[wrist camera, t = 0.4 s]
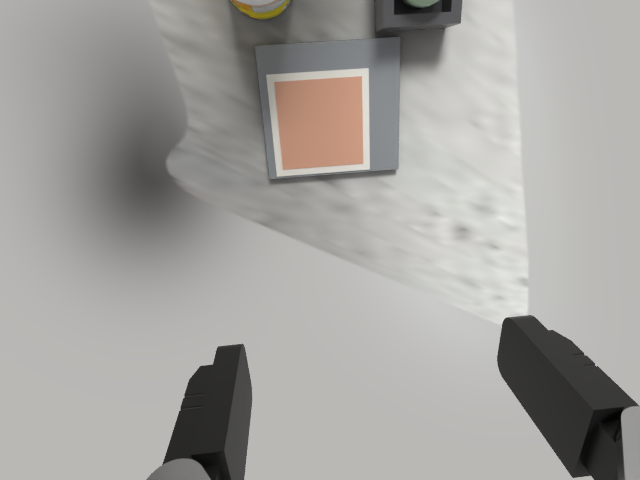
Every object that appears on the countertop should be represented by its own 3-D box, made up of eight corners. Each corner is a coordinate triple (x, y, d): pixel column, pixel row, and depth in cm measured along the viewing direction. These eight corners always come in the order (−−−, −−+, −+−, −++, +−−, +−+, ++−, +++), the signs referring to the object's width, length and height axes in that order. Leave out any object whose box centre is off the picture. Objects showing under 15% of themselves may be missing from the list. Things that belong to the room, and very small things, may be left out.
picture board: (254, 46, 32) (254, 45, 31) (398, 37, 32) (401, 36, 32) (269, 177, 36) (269, 179, 35) (396, 167, 37) (398, 169, 36)
